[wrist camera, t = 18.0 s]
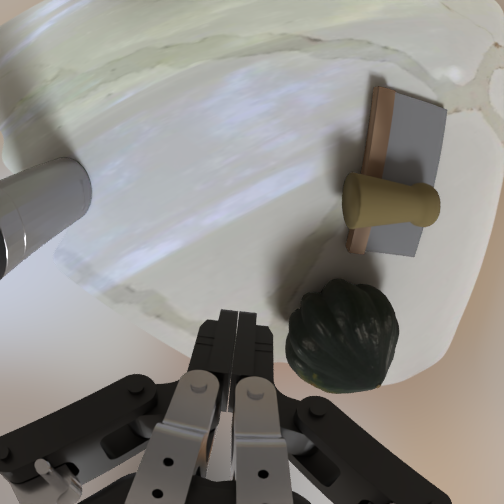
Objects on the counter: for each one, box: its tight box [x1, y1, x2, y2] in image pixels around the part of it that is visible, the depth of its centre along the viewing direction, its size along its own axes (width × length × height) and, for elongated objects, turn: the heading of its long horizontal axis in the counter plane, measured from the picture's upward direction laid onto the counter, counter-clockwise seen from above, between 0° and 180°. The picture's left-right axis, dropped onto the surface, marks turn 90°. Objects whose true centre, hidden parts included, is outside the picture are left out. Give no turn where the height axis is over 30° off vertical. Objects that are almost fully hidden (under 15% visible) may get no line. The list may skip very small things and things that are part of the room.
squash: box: [285, 279, 399, 394], centre depth 37 cm, size 14×15×15 cm
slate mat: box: [365, 92, 447, 257], centre depth 33 cm, size 8×20×1 cm, turn 174°
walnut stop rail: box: [346, 86, 396, 254], centre depth 33 cm, size 2×20×2 cm, turn 174°
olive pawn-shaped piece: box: [342, 172, 440, 229], centre depth 32 cm, size 6×6×11 cm
